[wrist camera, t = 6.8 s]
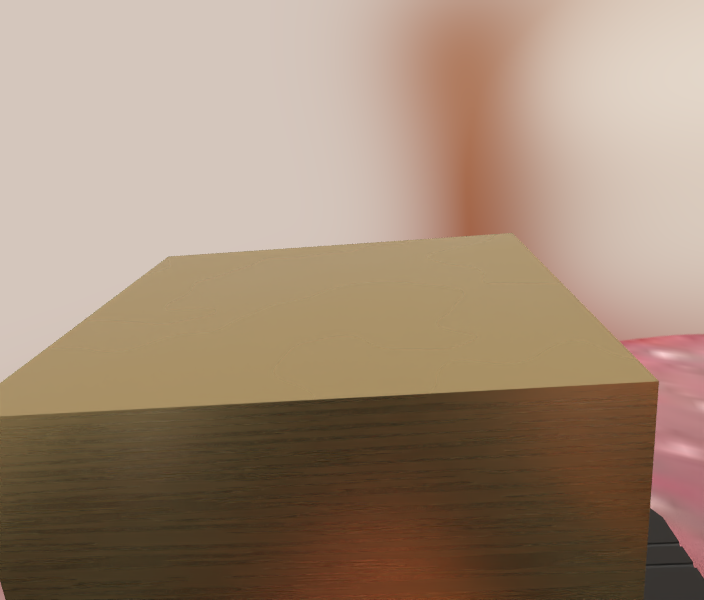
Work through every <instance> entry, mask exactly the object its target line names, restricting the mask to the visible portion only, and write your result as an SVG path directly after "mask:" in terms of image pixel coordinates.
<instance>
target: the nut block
mask: <svg viewBox="0 0 704 600" xmlns="http://www.w3.org/2000/svg"><path fill="white" fill-rule="evenodd" d="M658 385H659V381H658V380H657V379H656V378H655V377H654V376H653V375H652V374H651V373H650V372H649V371H648V370H647V369H646V368H645V367H644V366H643V365H642V364H641V363H640V362H639V361H638V360H637V359H636V358H635V357H634V356H633V355H632V354H631V353H630V352H629V351H628V350H627V349H626V348H625V347H624V346H623V345H622V344H621V343H620V342H619V341H618V340H617V339H616V338H615V337H614V336H613V335H612V334H611V332H610V331H608V330H607V328H606V327H605V326H604V325H603V324H602V323H601V322H600V321H599V320H598V319H597V318H596V317H595V316H594V315H593V314H592V313H591V312H590V311H589V310H588V309H587V308H586V307H585V306H584V305H583V304H582V303H581V302H580V301H579V300H578V299H577V298H576V297H575V296H574V295H573V294H572V293H571V292H570V291H569V290H568V289H567V288H566V287H565V286H564V285H563V284H562V283H561V282H560V281H559V280H558V279H557V278H556V277H555V276H554V275H553V274H552V273H551V272H550V271H549V270H548V269H547V268H546V267H545V266H544V265H543V264H542V263H541V262H540V261H539V260H538V259H537V258H536V257H535V256H534V255H533V254H532V253H531V252H530V251H529V250H528V248H527V247H525V246H524V244H523V243H522V242H520V240H519V239H518V238H517V237H515V235H514V234H513V233H508V234H494V235H479V236H466V237H451V238H436V239H420V240H406V241H392V242H377V243H361V244H347V245H332V246H318V247H303V248H288V249H274V250H259V251H244V252H230V253H216V254H200V255H186V256H171V257H167V258H166V259H165V260H163V261H162V262H161V263H159V264H158V265H157V266H155V267H154V268H153V269H151V270H150V271H149V272H147V273H146V274H145V275H143V276H142V277H141V278H140V279H138V280H137V281H135V282H134V283H133V284H131V285H130V286H129V287H127V288H126V289H125V290H123V291H122V292H121V293H120V294H118V295H117V296H116V297H114V298H113V299H111V300H110V301H109V302H107V303H106V304H105V305H103V306H102V307H101V308H99V309H98V310H97V311H96V312H94V313H93V314H92V315H90V316H89V317H88V318H86V319H85V320H84V321H82V322H81V323H80V324H78V325H77V326H76V327H74V328H73V329H72V330H70V331H69V332H68V333H66V334H65V335H64V336H62V337H61V338H60V339H58V340H57V341H56V342H54V343H53V344H52V345H51V346H49V347H48V348H46V349H45V350H44V351H42V352H41V353H40V354H38V355H37V356H36V357H34V358H33V359H32V360H30V361H29V362H28V363H26V364H25V365H24V366H22V367H21V368H20V369H18V370H17V371H16V372H15V373H13V374H12V375H11V376H9V377H8V378H6V379H5V380H4V381H3V382H1V383H0V582H1V585H2V589H3V592H4V595H5V599H6V600H643V599H644V585H645V571H646V557H647V542H648V528H649V514H650V499H651V485H652V471H653V456H654V442H655V428H656V413H657V399H658Z"/></svg>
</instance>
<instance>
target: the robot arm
mask: <svg viewBox="0 0 704 600" xmlns="http://www.w3.org/2000/svg"><path fill="white" fill-rule="evenodd" d="M643 600H704V578H703V577H702V575H701V574H700V572H699V571H698V569H697V568H694V566H693V562H692V560H691V559H690V557H689V556H688V554H687V553H686V551H685V550H684V548H683V547H680V546H679V541H678V540H677V538H676V537H675V535H674V534H673V532H672V531H671V529H670V528H669V526H668V525H667V523H666V522H665V520H664V519H663V517H661V516H660V515H659V514H657V513H656V512H655V511H653V510H652V509H650V514H649V528H648V542H647V557H646V571H645V585H644V599H643Z"/></svg>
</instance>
